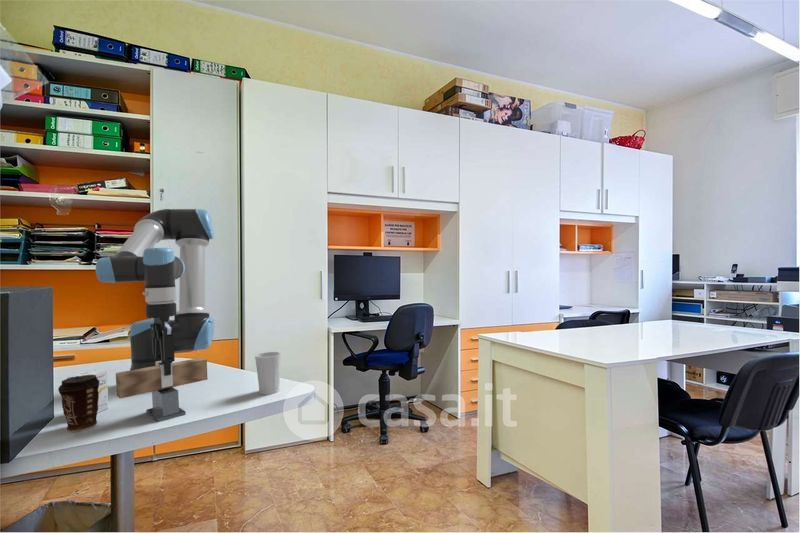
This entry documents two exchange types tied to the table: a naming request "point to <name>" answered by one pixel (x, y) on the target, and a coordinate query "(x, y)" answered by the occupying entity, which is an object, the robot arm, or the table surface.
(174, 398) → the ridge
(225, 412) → the table surface
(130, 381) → the walnut beam
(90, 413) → the coffee cup
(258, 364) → the cup
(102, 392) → the ink box
